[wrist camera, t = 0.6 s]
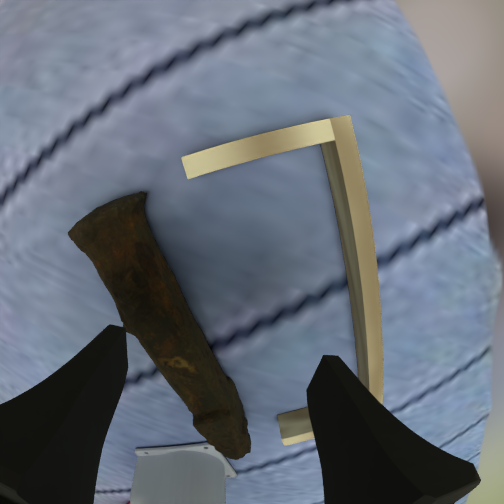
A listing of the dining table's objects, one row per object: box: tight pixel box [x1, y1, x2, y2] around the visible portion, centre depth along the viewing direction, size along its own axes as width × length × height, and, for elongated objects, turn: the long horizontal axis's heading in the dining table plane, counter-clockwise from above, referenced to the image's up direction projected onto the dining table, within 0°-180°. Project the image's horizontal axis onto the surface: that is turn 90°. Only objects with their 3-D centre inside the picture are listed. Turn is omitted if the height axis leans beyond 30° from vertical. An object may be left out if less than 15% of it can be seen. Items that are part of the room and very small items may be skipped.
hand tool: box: [68, 192, 251, 460], centre depth 20 cm, size 23×5×6 cm, turn 18°
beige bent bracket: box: [181, 115, 383, 446], centre depth 20 cm, size 9×24×3 cm, turn 16°
